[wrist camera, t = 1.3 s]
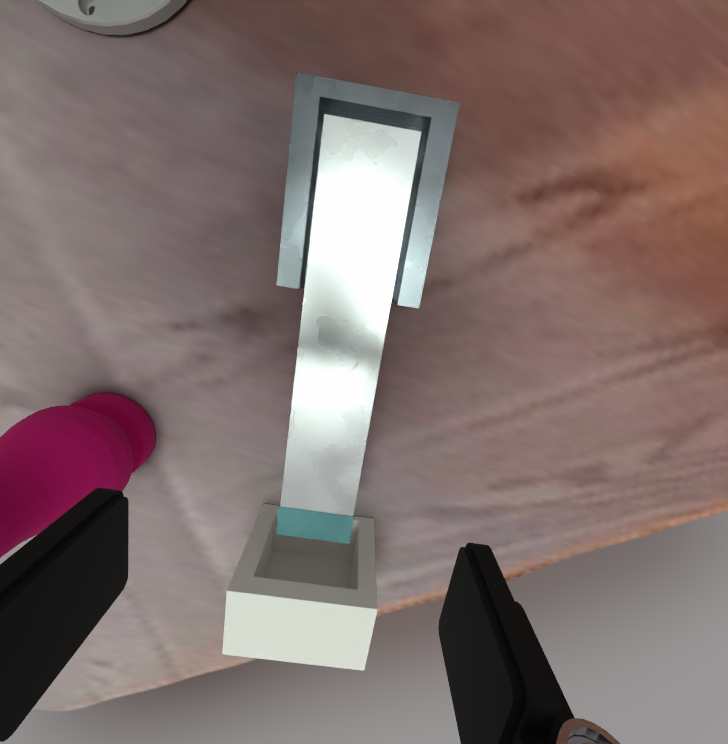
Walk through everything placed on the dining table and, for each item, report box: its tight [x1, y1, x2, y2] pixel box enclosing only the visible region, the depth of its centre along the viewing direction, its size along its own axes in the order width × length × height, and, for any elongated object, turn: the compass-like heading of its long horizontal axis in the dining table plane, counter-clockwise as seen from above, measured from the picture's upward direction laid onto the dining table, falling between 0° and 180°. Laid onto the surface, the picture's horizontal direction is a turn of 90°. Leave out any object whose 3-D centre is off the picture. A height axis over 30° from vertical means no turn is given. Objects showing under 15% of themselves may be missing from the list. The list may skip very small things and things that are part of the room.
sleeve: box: [277, 72, 460, 308], centre depth 21 cm, size 10×8×5 cm
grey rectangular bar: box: [276, 114, 421, 544], centre depth 22 cm, size 23×5×5 cm, turn 171°
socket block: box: [222, 504, 377, 670], centre depth 26 cm, size 5×9×8 cm, turn 81°
